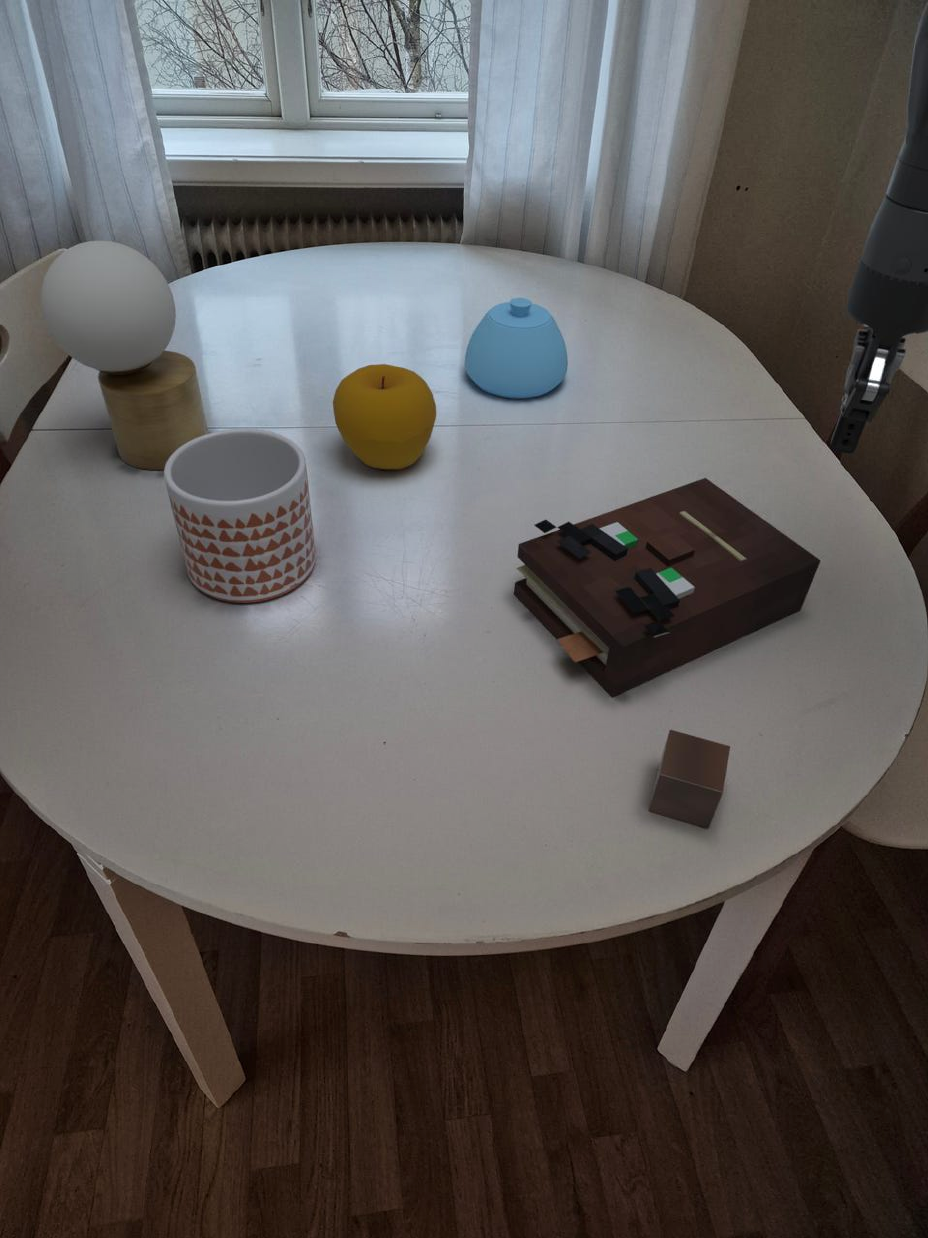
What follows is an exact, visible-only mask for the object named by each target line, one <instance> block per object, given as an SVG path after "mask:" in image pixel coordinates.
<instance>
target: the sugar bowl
mask: <svg viewBox="0 0 928 1238" xmlns="http://www.w3.org/2000/svg"><path fill="white" fill-rule="evenodd" d="M568 360H569V359H568V350H567V345H566V341H565V339H564V336H563V334H562V331H561V329H560V328H559V326H558V323H557V322H556V320H555V319H554V317H553V315H552V313H551V312H550V311H549V310H548V309H547V308H545V307H543V306H541V305H538V304H535V303H532V301H531V300H530V299H528V298H525V297H515V298H511V299H510V300H509V301H505V302H502V303H498V304H496V305H493V306H492V307H491V308H490V309H489V310H488V311H487V312H486V313H485V314H484V316H482V318H481V320H480V322H479V323H478V324H477V325H476V327H475V329H474V331H472V334H471V335H470V338H469V341H468V343H467V346H466V350H465V354H464V368H465V371H466V373H467V375H468V376H469V378H470V379H471V380H472V381H473V383H475V385H476V386H477V387H478V388H479V389H481V390H483V391H484V392H486V393H488V394H490V395H494V396H497V397H501V398H507V399H521V400H522V399H531V398H532V399H533V398H536V397H537V398H538V397H542V396H544V395H546V394H548V393H549V392H551V391H552V390H554V389H555V388H556V387H557V386H558V385H559V384H560V383H561V382H562V381H563V380H564V379H565V376H566V375H567V373H568V367H569V361H568Z"/></svg>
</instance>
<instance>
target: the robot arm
mask: <svg viewBox="0 0 928 1238" xmlns="http://www.w3.org/2000/svg"><path fill="white" fill-rule="evenodd" d="M919 19H920V20H919V21H918V22H919V23H918V25H917V30H916V33H915V37H914V43H913V50H912V57H911V68H910V78H909V85H908V94H907V104H906V121H905V122H906V123H905V126H906V127H905V133H904V134H905V135H904V139H903V141H902V143H901V147H900V149H899V152H898V155H897V158H896V160H895V163H894V167H893V170H892V173H891V176H890V178H889V181H888V185H887V187H886V191H885V192H886V193H885V194H884V197H883V199H882V201H881V203H880V206H879V208H878V209H877V213H876V214H875V216H874V217H873V218H874V219H873V221H872V223H871V226H870V229H869V231H868V235H867V238H866V241H865V243H864V247H863V250H862V252H861V255H860V256H861V257H860V258H859V262H858V265H857V267H856V268H857V269H856V271H855V274H854V277H853V279H852V283H851V286H850V288H849V292H848V295H847V298H846V301H845V310H846V313H847V314H848V316H849V317H850V318H852V319H853V320H854V321H856V322H857V323H859V324H861V325H865V326H864V327H863V329H861V328H858V329H857V332H856V335H855V337H854V341H853V351H852V354H851V358H850V361H849V365H848V367H847V370H846V374H845V382H844V388H843V391H844V393H845V394H844V395H842V398H841V402H842V403H841V406H840V413H839V416H838V419H837V421H836V425H835V427H834V431H833V433H832V436H831V438H830V439H831V440H830V449H831V450H833V451H834V452H838V453H844V454H848V455H850V454H854V453H855V452H856V450H857V447H858V444H859V441H860V439H861V436H862V434H863V431H864V429H865V427H866V424H867V423H872V421H873V419H875V416H876V414H877V413H878V411H879V409H880V407H881V406H882V404H883V402H884V401H885V399H886V397H887V395H889V394H890V391H891V387H890V386H891V383H892V380H893V378H894V375H895V373H896V372H897V371H899V370H900V368H901V366H902V363H903V361H904V359H905V355H906V352H907V348H904V347H905V345H906V341H907V336H908V335H912V334H916V335H917V334H918V335H919V334H924V333H926V332H928V1H927V2H926V4H925V6H924V9H923V12H922V14H921V16H920V18H919Z"/></svg>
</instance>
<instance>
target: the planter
mask: <svg viewBox="0 0 928 1238" xmlns="http://www.w3.org/2000/svg"><path fill="white" fill-rule="evenodd" d="M163 476H164V482H165V486H166V490H167V494H168V499H169V503H170V507H171V510H172V515H173V519H174V523H175V527H176V531H177V536H178V540H179V545H180V548H181V552H182V557H183V561H184V565H185V569H186V571H187V572H186V573H187V576H188V578H189V580H190V582H191V583H192V584H193V585H194V587H195V588H197V589H198V590H199V592H202V593H203V594H205V595H206V596H208V597H210V598H213V599H216V600H219V601H223V602H229V603H237V604H250V603H259V602H265V601H269V600H272V599H275V598H278V597H281V596H283V595H285V594H288V593H290V592H291V591H293V590H295V589H296V588H297V587H299V586H300V585H301V584H302V583H304V582H305V581H306V579H307V578H308V577H309V576H310V574H311V573H312V571H313V569H314V567H315V564H316V559H317V558H316V557H317V556H316V543H315V534H314V524H313V515H312V505H311V497H310V488H309V487H310V486H309V479H308V478H309V477H308V469H307V461H306V457H305V454H304V452H303V451H302V449H301V447H299V445H298V444H297V443H296V442H294V441H292V440H291V439H290V438H288V437H286V436H284V435H282V434H280V433H276V432H273V431H269V430H265V429H259V428H257V429H256V428H231V429H230V428H229V429H224V430H217V431H213V432H210V433H209V432H208V434H206V435H203V436H200V437H198V438H195V439H193V440H191V441H189V442H187V443H186V444H184V445H182V446H181V447H180V448H178V449H177V450H176V451H175V452H174V453H173V454H172V455H171V456H170V458H169V459H168V461H167V463H166V465H165V469H164V470H163Z"/></svg>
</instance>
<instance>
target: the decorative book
mask: <svg viewBox="0 0 928 1238" xmlns="http://www.w3.org/2000/svg"><path fill="white" fill-rule="evenodd" d="M533 526H534V527H536V528H537V529H538V530H539V531H541V532H542V533H544V534H543V535H540V536H537V537H534V538H531V539H529V540H525V541H523V542H520V543H518V545H517V546H518V547H517V556H516V557H517V558H518V560H520V561H521V562H522V563H523V565H521V566H519V567H516V570H517V571H518V572H519V573H520V574H521V575H522V576H523V577H524V578H522V579H519V580H517V581H514V590H513V596H515V597H516V598H517V599H518V600H519V601H520V602H521V603H522V605H523V606H524V607H525V608H527V610H528V611H529V612H530V613H531V614H532V615H533V616H534V617H535V619H537V620H538V621H539V622H540V624H542V625H543V627H544V628H546V630H547V631H548V632H549V633H550V634H551V635H552V636H553V637H554V638H555V639H556V641H557V642H558V644H559V645H560V646H561V647H562V648H563V650H564V651H565V652H566V654H567V656H569V657H570V659H571V660H572V661H573V663H579V664H580V666H582V668H583V669H584V670H585V671H586V672H587V673H588V674H589V675H590V676H591V677H592V678H593V679H594V680H595V681H596V682H597V683H598V684H599V685H600V686H601V687H602V689H603V690H604V691H605V692H606V693H607V694H608V695H609V696H610V697H611V698H614V697H617V696H620V695H622V694H623V693H625V692H627V691H630V690H632V689H634V688H636V687H638V686H640V685H642V684H645V683H647V682H649V681H651V680H653V679H656V678H657V677H661V676H662V675H664V674H666V673H669V672H670V671H672V670H675V669H677V668H679V667H682V666H684V665H686V664H688V663H690V662H692V661H694V660H697V659H698V658H701V657H703V656H705V655H707V654H709V653H711V652H714V651H717V650H718V649H720V648H722V647H725V646H726V645H728V644H731V643H733V642H735V641H737V640H740V639H742V638H744V637H745V636H748V635H750V634H752V633H755V632H757V631H759V630H761V629H763V628H766V627H768V626H770V625H772V624H775V623H776V622H779V621H780V620H783V619H785V618H788V616H791V615H793V614H796V613H797V612H800V611H801V610H802V608H803V606H804V603H805V601H806V598H807V596H808V594H809V591H810V588H811V585H812V583H813V581H814V578H815V575H816V573H817V571H818V568H819V565H820V563H821V559H819V558H818V557H816V556H815V555H814V554H812V553H811V552H809V551H808V550H807V549H805V548H804V547H803V546H801V545H800V544H798V543H797V542H796V541H794V540H793V539H791V538H790V537H789V536H788V535H786V534H784V533H783V532H782V531H781V530H779V529H777V528H776V527H775V526H774V525H772V524H771V523H769V522H768V521H767V520H766V519H763V517H761V516H759V515H758V514H757V513H755V512H754V511H752V510H751V509H750V508H748V506H745V505H744V503H741V502H740V501H739V500H737V499H736V498H734V497H733V496H731V495H730V494H729V493H728V492H726V491H724V490H723V489H722V488H721V487H719V486H718V485H716V484H715V483H714V482H713V481H711V480H709V479H708V478H707V477H703V478H701V479H698V480H695V481H692V482H689V483H687V484H684V485H681V486H678V487H675V488H672V489H670V490H667V491H664V492H661V493H659V494H654V495H653V496H650V497H647V498H644V499H641V500H639V501H636V502H633V503H630V504H627V505H625V506H621V507H619V508H616V509H613V510H611V511H608V512H605V513H602V514H599V515H597V516H593V517H591V518H587V519H585V520H582V521H579V522H576V523H574V524H573V523H572V522H570V521H566V522H564V523H562V524H561V525H558V526H556V525H554V524H553V523H552V522H550V520H547V519H543V520H541V521H539V522H537V523H535V524H533ZM556 528H557V530H555V529H556ZM552 530H554V531H552ZM550 531H551V532H550ZM548 532H549V533H548Z"/></svg>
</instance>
